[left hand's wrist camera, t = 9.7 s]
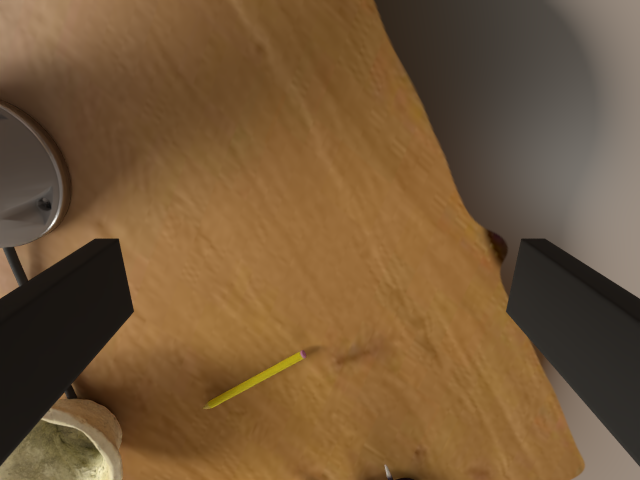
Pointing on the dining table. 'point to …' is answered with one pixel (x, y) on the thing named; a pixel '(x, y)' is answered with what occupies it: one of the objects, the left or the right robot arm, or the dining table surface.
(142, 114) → the dining table surface
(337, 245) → the dining table surface
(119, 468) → the bowl
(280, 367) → the pencil
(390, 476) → the toy
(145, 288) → the dining table surface
